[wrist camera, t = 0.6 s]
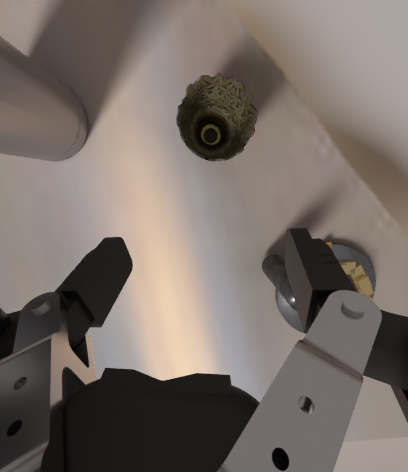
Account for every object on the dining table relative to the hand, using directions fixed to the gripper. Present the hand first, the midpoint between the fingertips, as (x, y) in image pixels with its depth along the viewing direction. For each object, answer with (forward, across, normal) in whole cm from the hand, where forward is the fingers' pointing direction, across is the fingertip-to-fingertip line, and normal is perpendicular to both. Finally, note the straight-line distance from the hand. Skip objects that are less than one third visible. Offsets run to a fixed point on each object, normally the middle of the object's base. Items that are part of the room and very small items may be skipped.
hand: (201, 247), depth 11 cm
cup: (+22, +1, -1) cm, 22 cm away
